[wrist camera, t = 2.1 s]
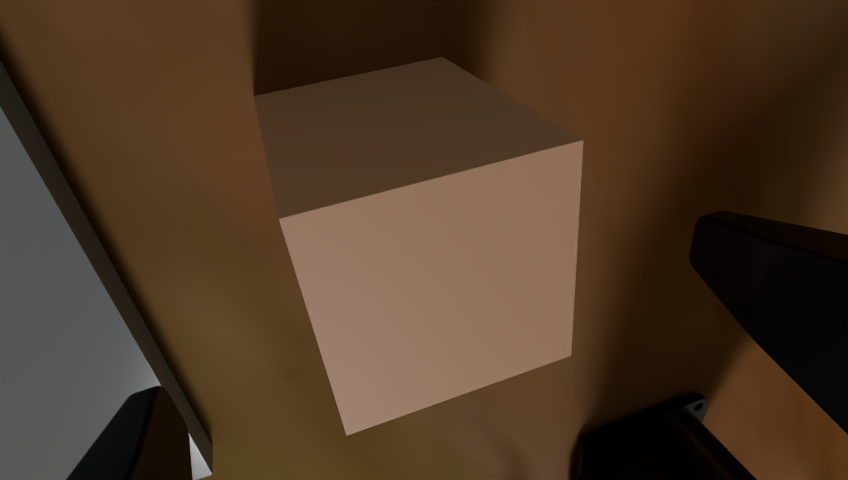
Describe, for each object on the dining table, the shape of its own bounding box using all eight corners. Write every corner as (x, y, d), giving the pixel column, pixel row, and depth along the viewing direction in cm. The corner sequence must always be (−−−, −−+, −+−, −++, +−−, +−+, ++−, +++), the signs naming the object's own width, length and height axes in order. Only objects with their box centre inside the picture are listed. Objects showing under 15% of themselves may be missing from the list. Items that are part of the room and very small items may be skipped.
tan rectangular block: (442, 56, 13) (583, 140, 8) (456, 216, 15) (571, 355, 10) (253, 95, 12) (278, 219, 7) (302, 258, 14) (347, 435, 9)
